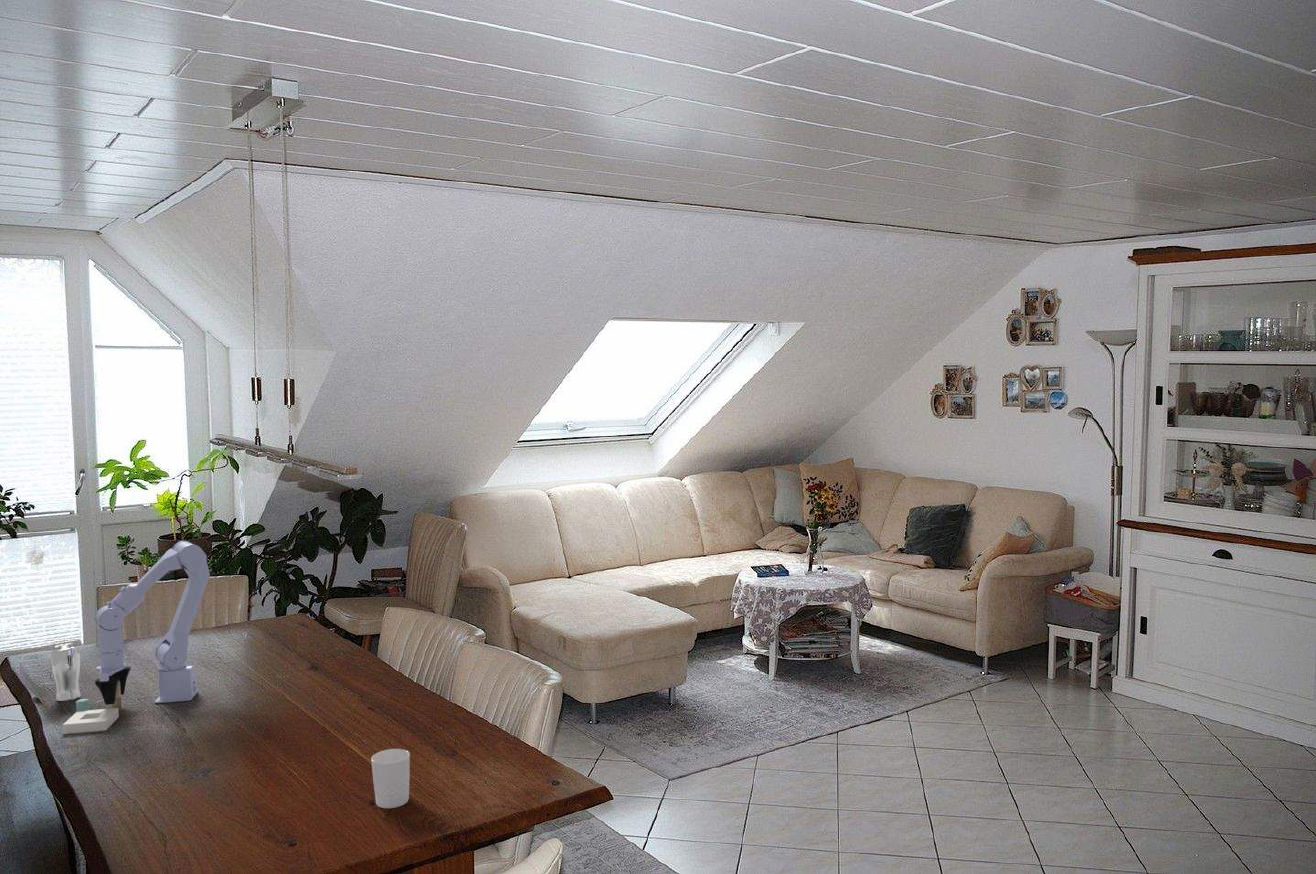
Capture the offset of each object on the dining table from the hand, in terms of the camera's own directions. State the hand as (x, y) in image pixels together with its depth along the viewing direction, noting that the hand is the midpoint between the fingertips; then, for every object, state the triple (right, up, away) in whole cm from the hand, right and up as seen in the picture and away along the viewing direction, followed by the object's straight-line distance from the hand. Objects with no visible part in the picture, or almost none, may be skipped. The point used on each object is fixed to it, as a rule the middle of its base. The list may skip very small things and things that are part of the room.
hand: (114, 699), depth 271 cm
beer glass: (-20, -3, +12) cm, 23 cm away
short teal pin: (-6, -4, -4) cm, 8 cm away
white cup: (+92, -6, -60) cm, 110 cm away
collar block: (0, -4, -11) cm, 11 cm away
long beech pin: (0, -3, 0) cm, 3 cm away
